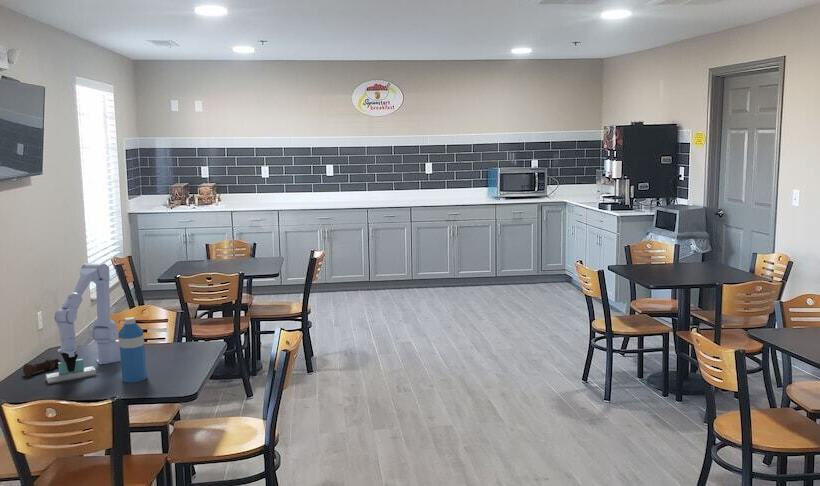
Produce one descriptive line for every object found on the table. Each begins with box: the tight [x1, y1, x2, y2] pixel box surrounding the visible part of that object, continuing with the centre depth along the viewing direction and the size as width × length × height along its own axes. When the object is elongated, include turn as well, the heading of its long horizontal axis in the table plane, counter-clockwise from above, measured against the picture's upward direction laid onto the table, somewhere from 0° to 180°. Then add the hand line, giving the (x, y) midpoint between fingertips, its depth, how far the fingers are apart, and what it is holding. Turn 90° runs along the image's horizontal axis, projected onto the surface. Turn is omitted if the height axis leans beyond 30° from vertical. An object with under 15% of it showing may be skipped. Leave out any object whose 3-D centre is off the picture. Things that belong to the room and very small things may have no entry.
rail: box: [45, 365, 97, 385], centre depth 313 cm, size 18×6×2 cm, turn 122°
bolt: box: [22, 358, 62, 377], centre depth 324 cm, size 6×5×15 cm
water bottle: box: [118, 316, 148, 383], centre depth 307 cm, size 9×9×25 cm
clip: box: [57, 358, 85, 375], centre depth 313 cm, size 9×2×6 cm, turn 122°
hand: (70, 370), depth 313 cm, fingers open, 3 cm apart
